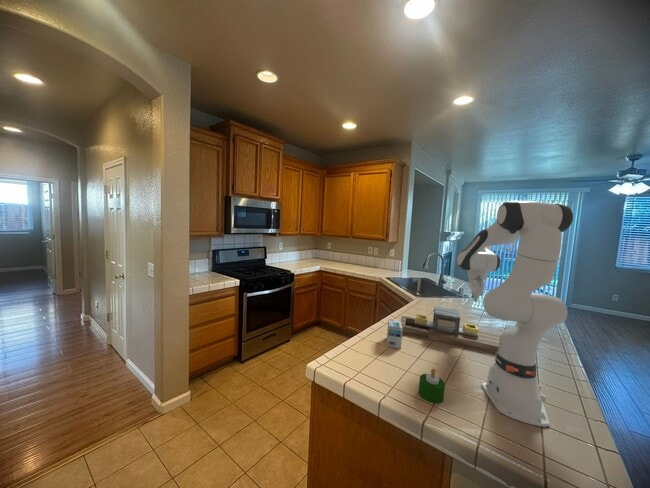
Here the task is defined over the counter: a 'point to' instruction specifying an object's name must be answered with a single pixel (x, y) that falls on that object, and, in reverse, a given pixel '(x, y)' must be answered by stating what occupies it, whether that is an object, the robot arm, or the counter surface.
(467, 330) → the sled
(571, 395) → the counter surface
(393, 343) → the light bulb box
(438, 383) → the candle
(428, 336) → the tunnel deck
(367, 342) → the counter surface
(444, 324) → the maple block
